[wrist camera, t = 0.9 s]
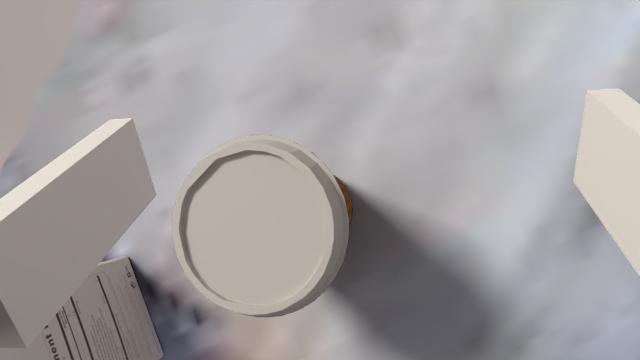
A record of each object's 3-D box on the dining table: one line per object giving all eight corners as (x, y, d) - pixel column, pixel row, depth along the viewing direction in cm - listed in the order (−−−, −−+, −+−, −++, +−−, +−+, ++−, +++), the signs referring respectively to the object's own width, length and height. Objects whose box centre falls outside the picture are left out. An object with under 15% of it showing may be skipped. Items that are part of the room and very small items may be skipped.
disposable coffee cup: (356, 130, 35) (316, 109, 23) (389, 259, 34) (365, 305, 23) (237, 164, 37) (145, 160, 25) (266, 286, 36) (187, 339, 25)
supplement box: (78, 389, 40) (-123, 511, 26) (44, 288, 41) (-171, 352, 27) (168, 358, 38) (5, 471, 24) (130, 253, 39) (-50, 300, 25)
